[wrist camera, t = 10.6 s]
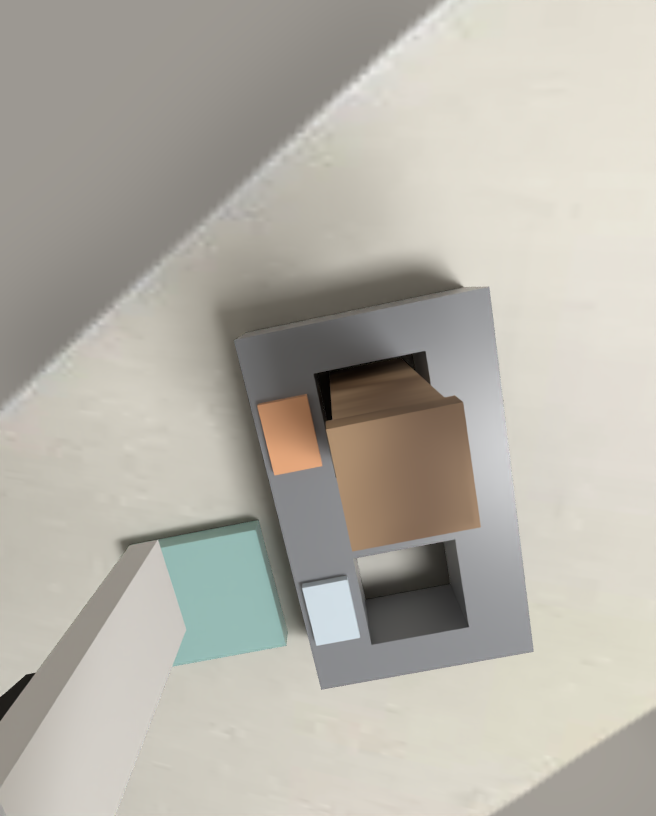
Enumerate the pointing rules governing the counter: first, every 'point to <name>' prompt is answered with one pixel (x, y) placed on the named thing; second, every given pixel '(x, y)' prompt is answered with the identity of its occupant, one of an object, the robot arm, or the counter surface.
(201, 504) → the counter surface
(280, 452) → the port box
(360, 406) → the plug
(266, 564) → the plate
